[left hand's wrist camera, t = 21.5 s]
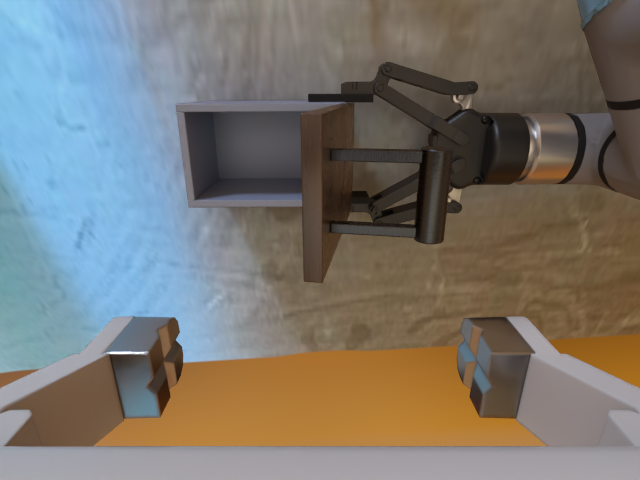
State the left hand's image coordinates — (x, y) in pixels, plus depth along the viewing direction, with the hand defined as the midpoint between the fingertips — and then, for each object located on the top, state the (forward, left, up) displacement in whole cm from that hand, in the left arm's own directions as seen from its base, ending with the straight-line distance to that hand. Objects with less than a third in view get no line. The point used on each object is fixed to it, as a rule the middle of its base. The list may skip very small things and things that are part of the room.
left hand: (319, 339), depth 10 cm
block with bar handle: (0, 0, -21) cm, 21 cm away
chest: (-5, +1, -41) cm, 41 cm away
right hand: (-1, 0, -35) cm, 35 cm away
